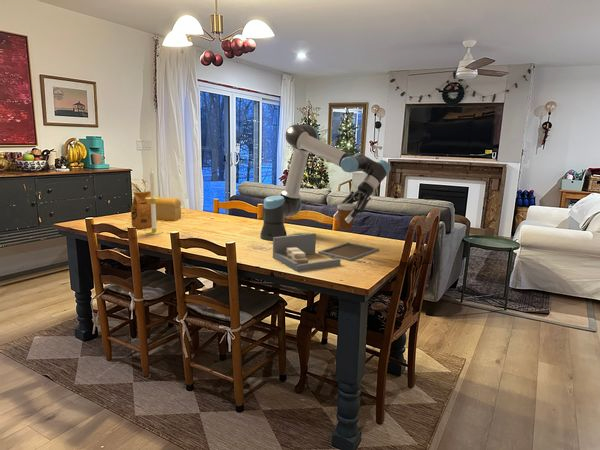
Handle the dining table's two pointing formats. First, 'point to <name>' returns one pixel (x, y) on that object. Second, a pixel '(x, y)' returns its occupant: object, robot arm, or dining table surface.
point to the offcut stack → (296, 255)
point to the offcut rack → (304, 244)
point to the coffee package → (141, 210)
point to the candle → (152, 204)
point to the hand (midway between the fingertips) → (340, 219)
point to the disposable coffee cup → (345, 215)
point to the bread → (168, 208)
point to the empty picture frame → (348, 251)
